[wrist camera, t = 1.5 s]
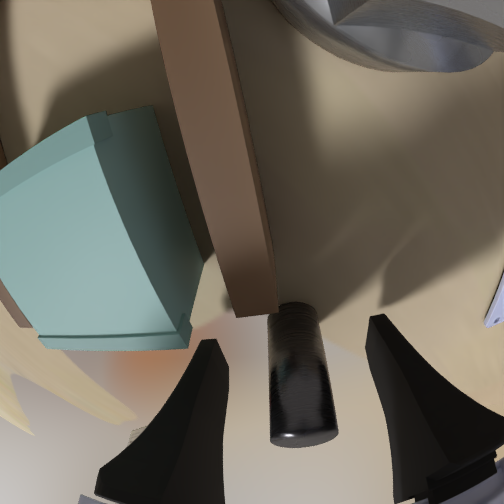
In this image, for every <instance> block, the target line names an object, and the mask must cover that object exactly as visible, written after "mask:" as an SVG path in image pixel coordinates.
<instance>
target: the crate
mask: <svg viewBox="0 0 504 504" xmlns="http://www.w3.org/2000/svg"><path fill="white" fill-rule="evenodd" d="M203 266H204V263H203V260H202V257H201V254H200V252H199V249H198V246H197V243H196V241H195V238H194V235H193V232H192V229H191V226H190V223H189V221H188V218H187V215H186V212H185V209H184V206H183V203H182V200H181V197H180V194H179V191H178V188H177V185H176V182H175V179H174V175H173V172H172V169H171V166H170V163H169V160H168V156H167V153H166V150H165V147H164V143H163V140H162V137H161V133H160V130H159V126H158V123H157V119H156V116H155V112H154V109H153V105H151V106H146V107H141V108H136V109H132V110H128V111H123V112H119V113H115V114H111V115H108V116H107V113H106V111H103V112H99V113H95V114H91V115H87V116H85V117H83V118H81V119H79V120H77V121H75V122H73V123H72V124H70V125H68V126H66V127H64V128H63V129H61V130H59V131H58V132H56V133H54V134H53V135H51V136H49V137H48V138H46V139H44V140H43V141H41V142H40V143H38V144H37V145H35V146H34V147H32V148H31V149H29V150H28V151H26V152H25V153H23V154H22V155H21V156H19V157H18V158H16V159H15V160H14V161H12V162H11V163H10V164H8V165H7V166H6V167H4V168H3V169H2V170H0V279H1V281H2V282H3V284H4V285H5V287H6V289H7V290H8V292H9V293H10V295H11V296H12V298H13V299H14V301H15V302H16V304H17V305H18V307H19V308H20V310H21V311H22V312H23V314H24V315H25V317H26V318H27V319H28V321H29V322H30V323H31V325H32V326H33V327H34V329H35V330H36V331H37V333H38V334H39V336H38V339H39V340H40V341H41V342H42V344H43V345H44V346H45V347H46V348H47V349H62V350H87V351H144V350H169V349H186V348H188V346H189V341H190V337H191V332H192V328H193V327H192V325H191V323H190V316H191V312H192V308H193V304H194V301H195V297H196V293H197V289H198V285H199V281H200V277H201V274H202V270H203Z"/></svg>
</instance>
